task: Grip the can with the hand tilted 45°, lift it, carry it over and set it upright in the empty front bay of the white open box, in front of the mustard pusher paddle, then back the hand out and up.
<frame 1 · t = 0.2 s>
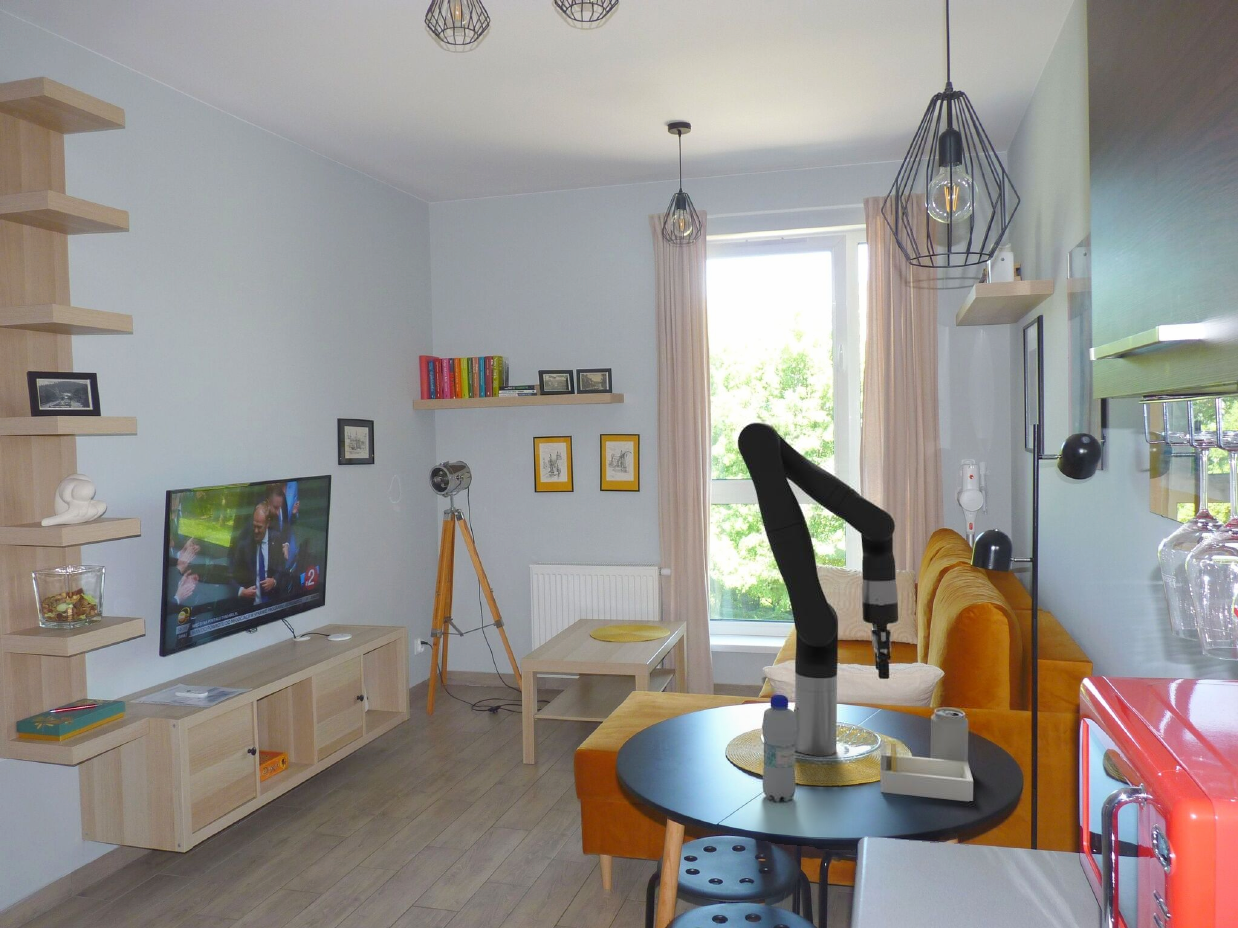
hand: (882, 673, 198), 18 cm above the table, tool pointing down, fingers open, 8 cm apart
pusher paddle: (893, 763, 182), point 4 cm above the table, slide at 0.0 cm
can: (948, 767, 192), on the table
bottle: (778, 798, 175), on the table
white open box: (924, 786, 181), on the table
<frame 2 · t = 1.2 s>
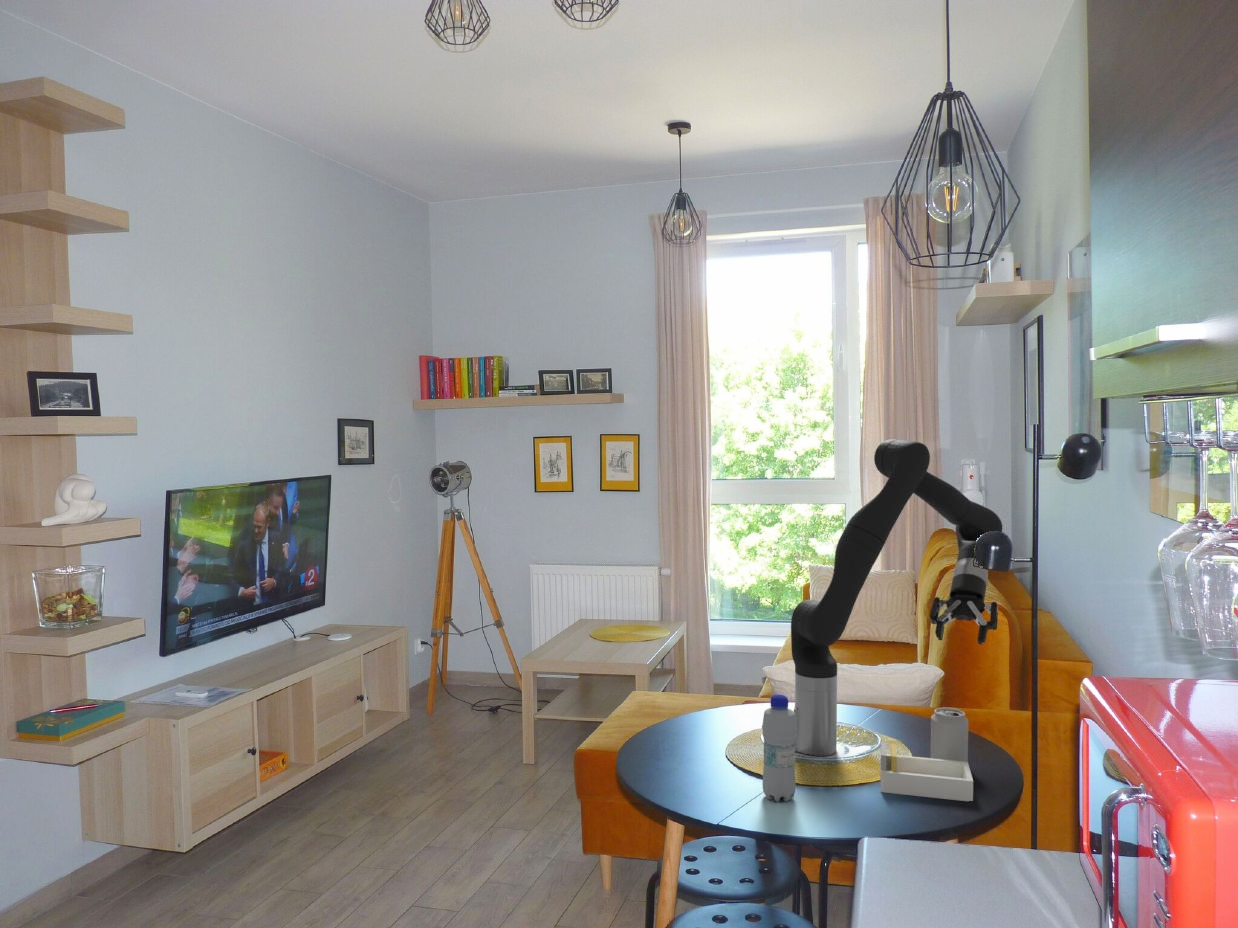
hand: (959, 640, 202), 25 cm above the table, tool tilted 45°, fingers open, 8 cm apart
nothing on the table moved.
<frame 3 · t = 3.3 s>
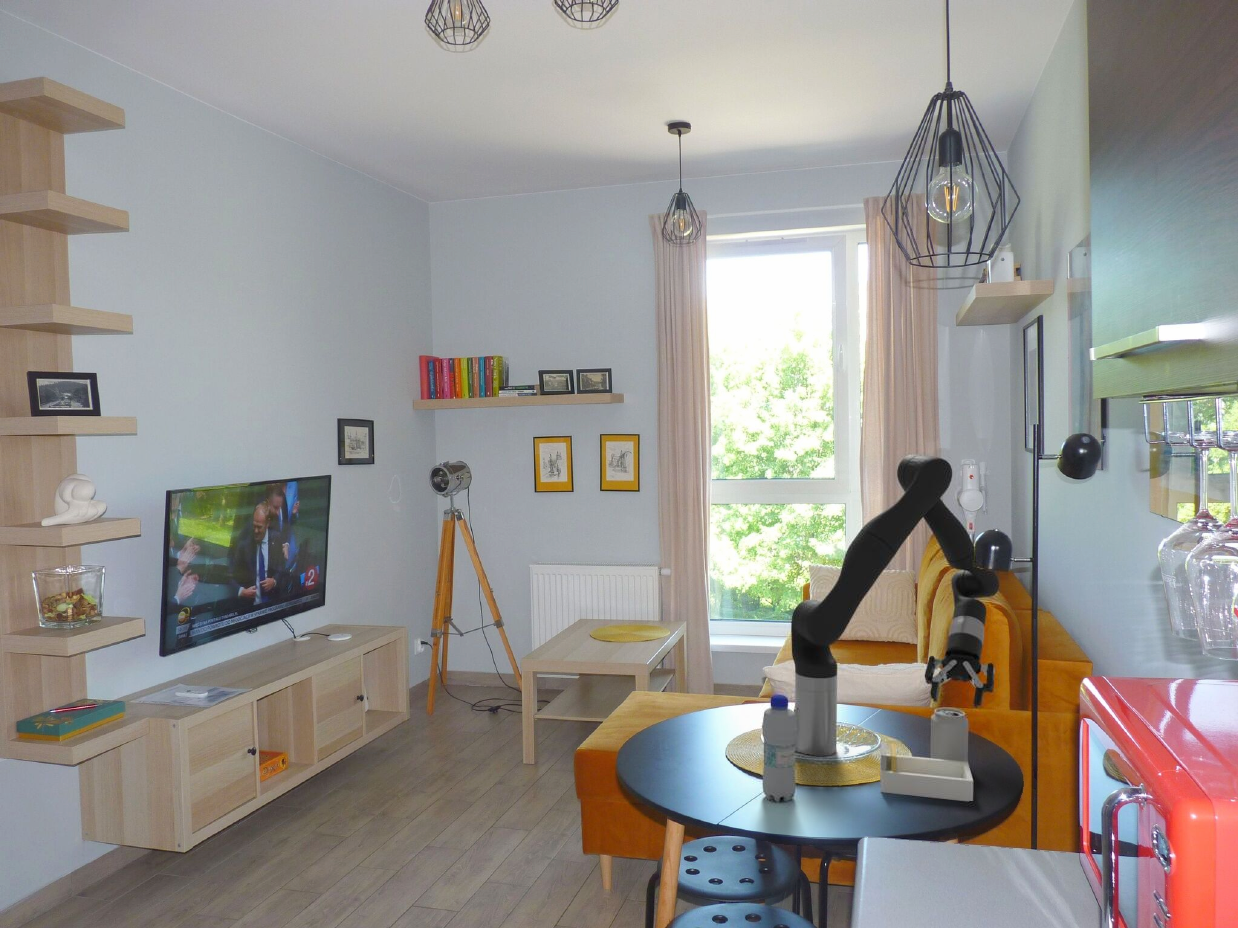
hand: (955, 702, 197), 12 cm above the table, tool tilted 45°, fingers open, 8 cm apart
nothing on the table moved.
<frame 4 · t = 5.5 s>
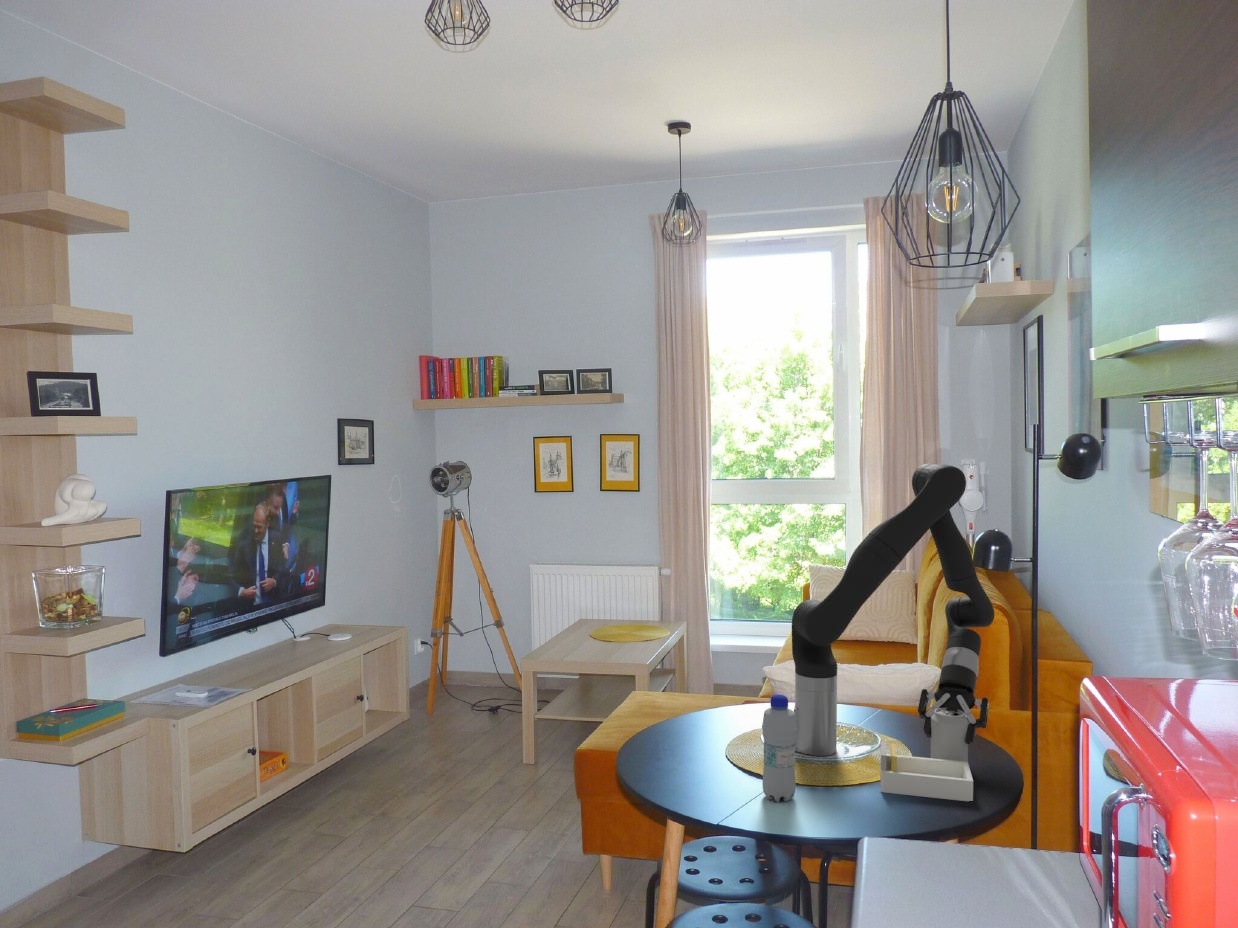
hand: (948, 738, 190), 6 cm above the table, tool tilted 45°, fingers closed on can, 7 cm apart
can: (948, 767, 192), on the table, touching gripper
everything else where it was.
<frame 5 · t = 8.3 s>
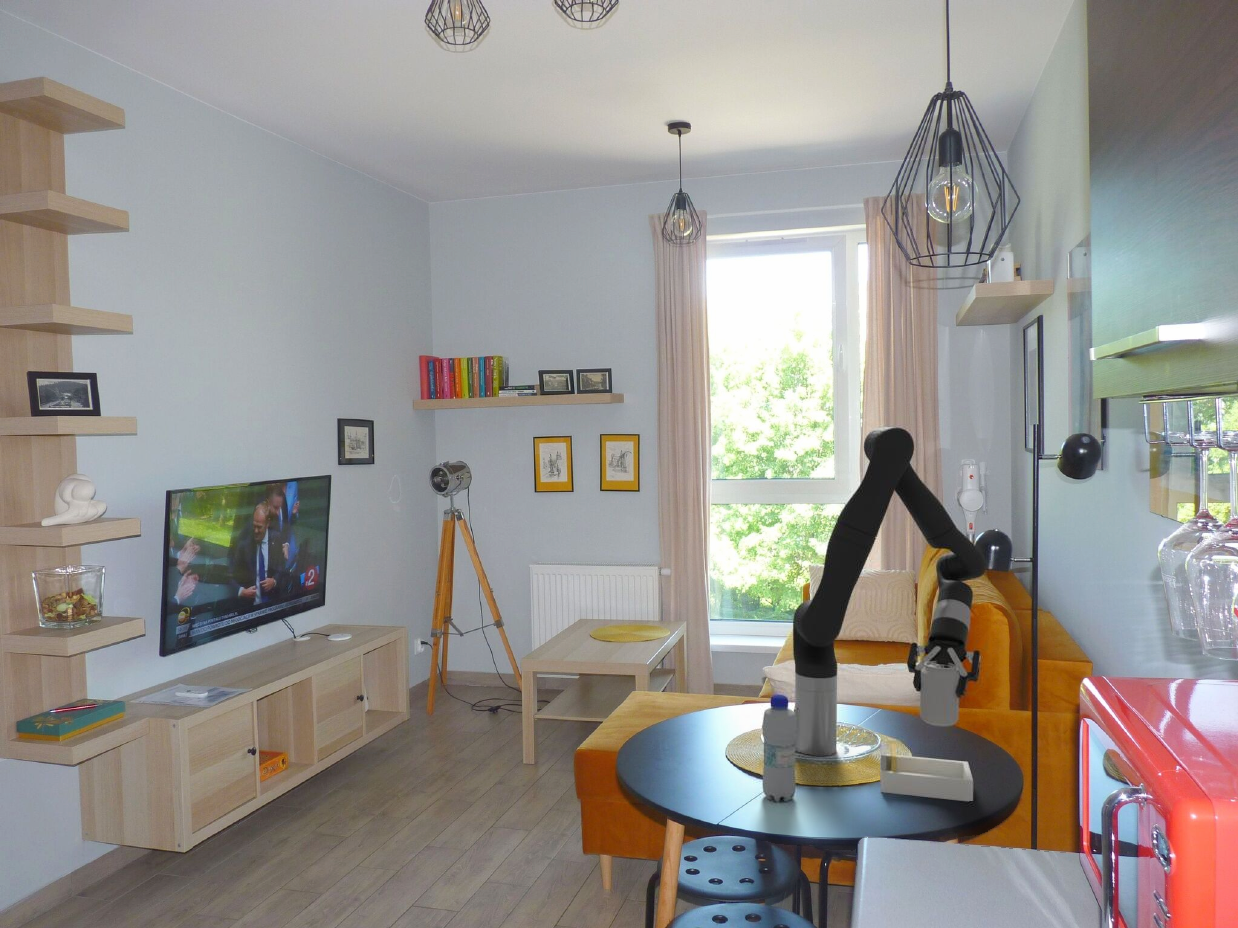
hand: (938, 692, 183), 18 cm above the table, tool tilted 45°, fingers closed on can, 7 cm apart
can: (938, 722, 185), point 12 cm above the table, touching gripper
everything else where it was.
when the fingers open (9 cm above the table, at t = 11.3 s): can drops 1 cm, resting on white open box.
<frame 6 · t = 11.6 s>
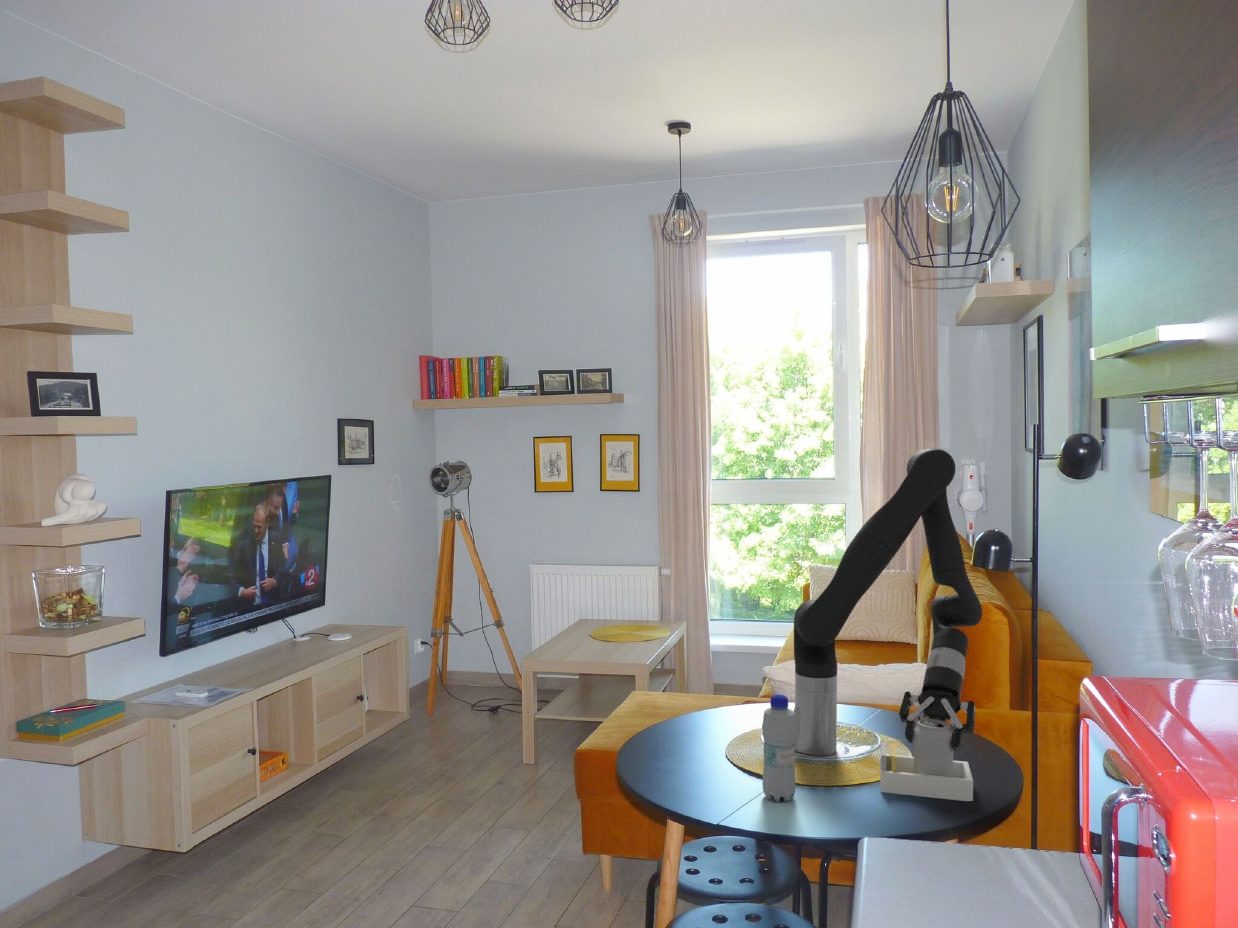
hand: (931, 744, 179), 9 cm above the table, tool tilted 45°, fingers open, 8 cm apart
can: (933, 782, 181), point 1 cm above the table, touching white open box
everything else where it was.
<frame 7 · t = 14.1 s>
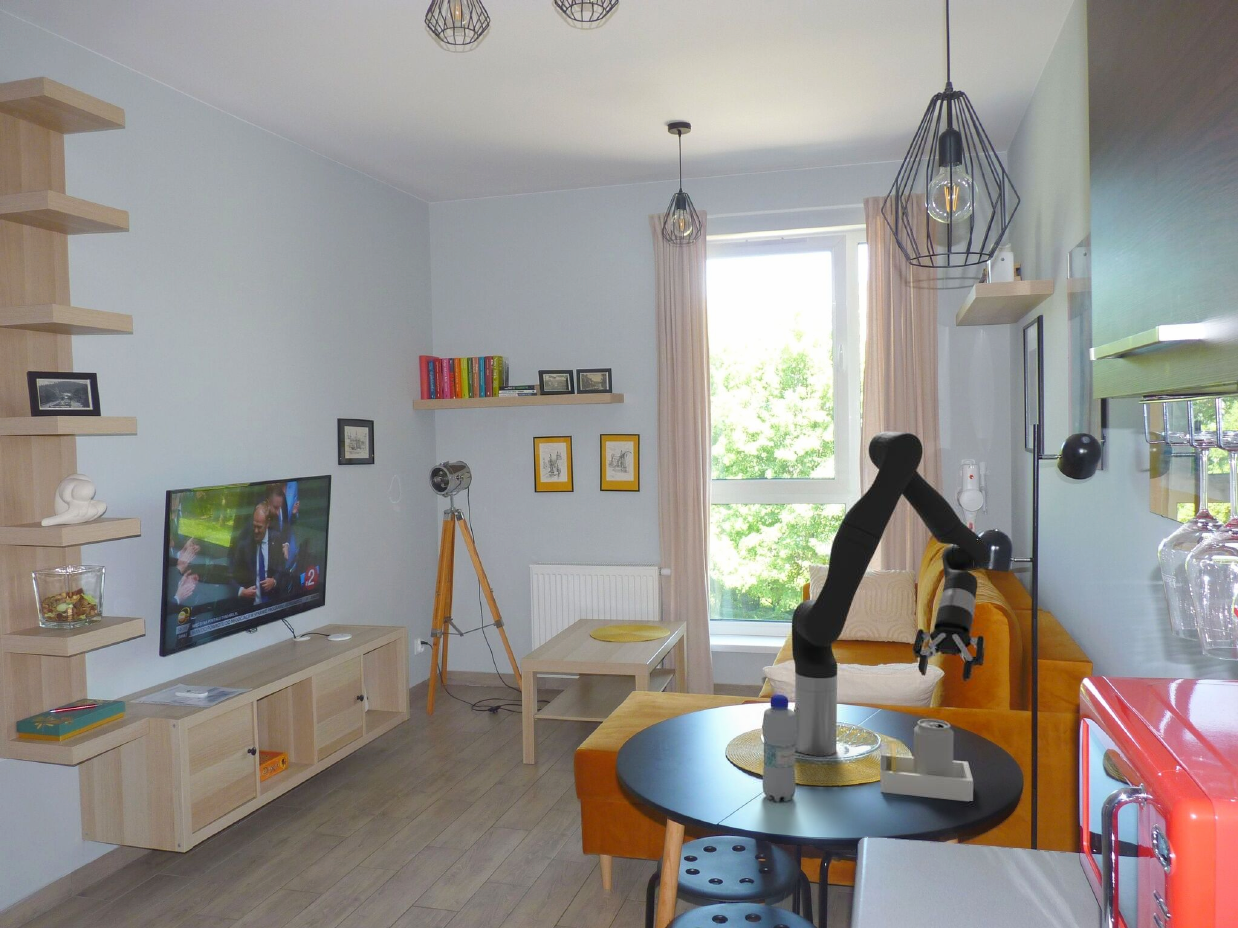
hand: (943, 676, 191), 19 cm above the table, tool tilted 45°, fingers open, 8 cm apart
nothing on the table moved.
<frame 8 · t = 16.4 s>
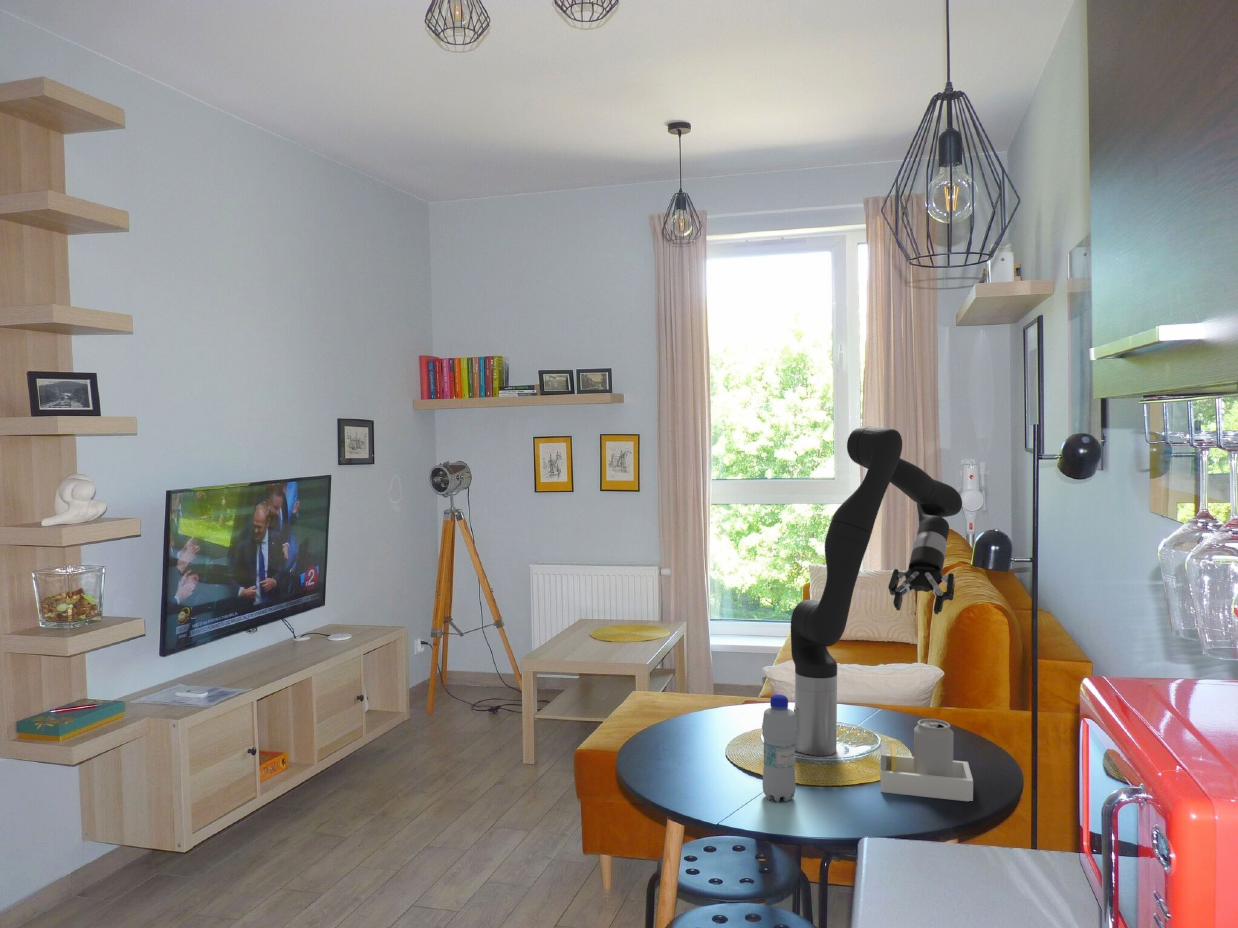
hand: (916, 610, 206), 31 cm above the table, tool tilted 45°, fingers open, 8 cm apart
nothing on the table moved.
at the end: can 0.6 cm from the target spot on the white open box, point 0.8 cm above the white open box's base; can tilted 0°; the gripper is holding nothing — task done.
